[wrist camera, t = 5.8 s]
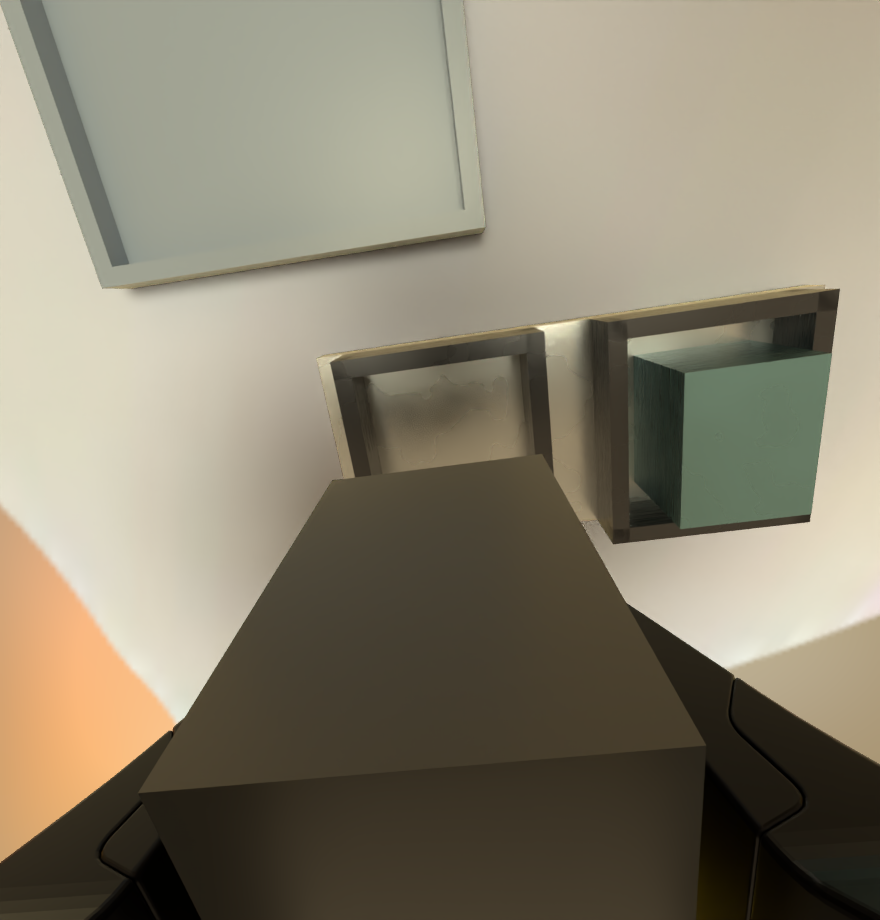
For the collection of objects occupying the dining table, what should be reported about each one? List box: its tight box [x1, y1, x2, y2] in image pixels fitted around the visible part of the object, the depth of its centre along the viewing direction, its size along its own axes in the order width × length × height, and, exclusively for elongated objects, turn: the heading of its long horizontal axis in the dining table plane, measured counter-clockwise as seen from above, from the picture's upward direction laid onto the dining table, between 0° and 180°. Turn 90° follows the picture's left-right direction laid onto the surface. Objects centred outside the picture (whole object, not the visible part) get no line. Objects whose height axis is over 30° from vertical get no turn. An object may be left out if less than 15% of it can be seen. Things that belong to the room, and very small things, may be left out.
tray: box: [0, 0, 486, 289], centre depth 14 cm, size 13×13×2 cm
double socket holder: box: [317, 285, 840, 544], centre depth 17 cm, size 18×8×5 cm, turn 98°
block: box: [138, 454, 706, 920], centre depth 7 cm, size 4×5×6 cm
